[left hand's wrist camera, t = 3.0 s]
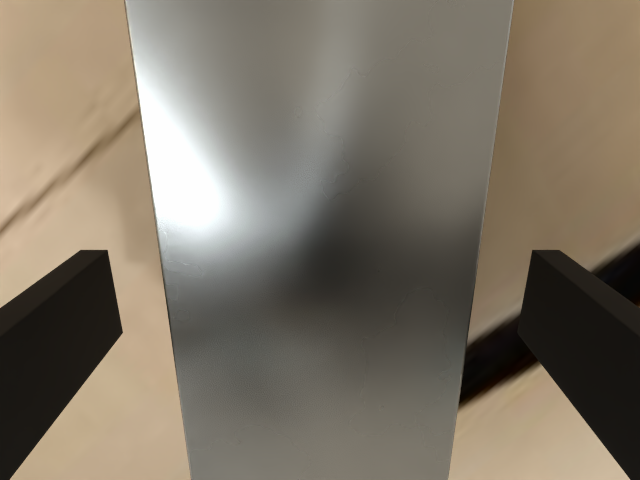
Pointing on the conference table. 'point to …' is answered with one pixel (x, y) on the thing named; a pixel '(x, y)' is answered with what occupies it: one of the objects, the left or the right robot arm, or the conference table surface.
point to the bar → (319, 223)
